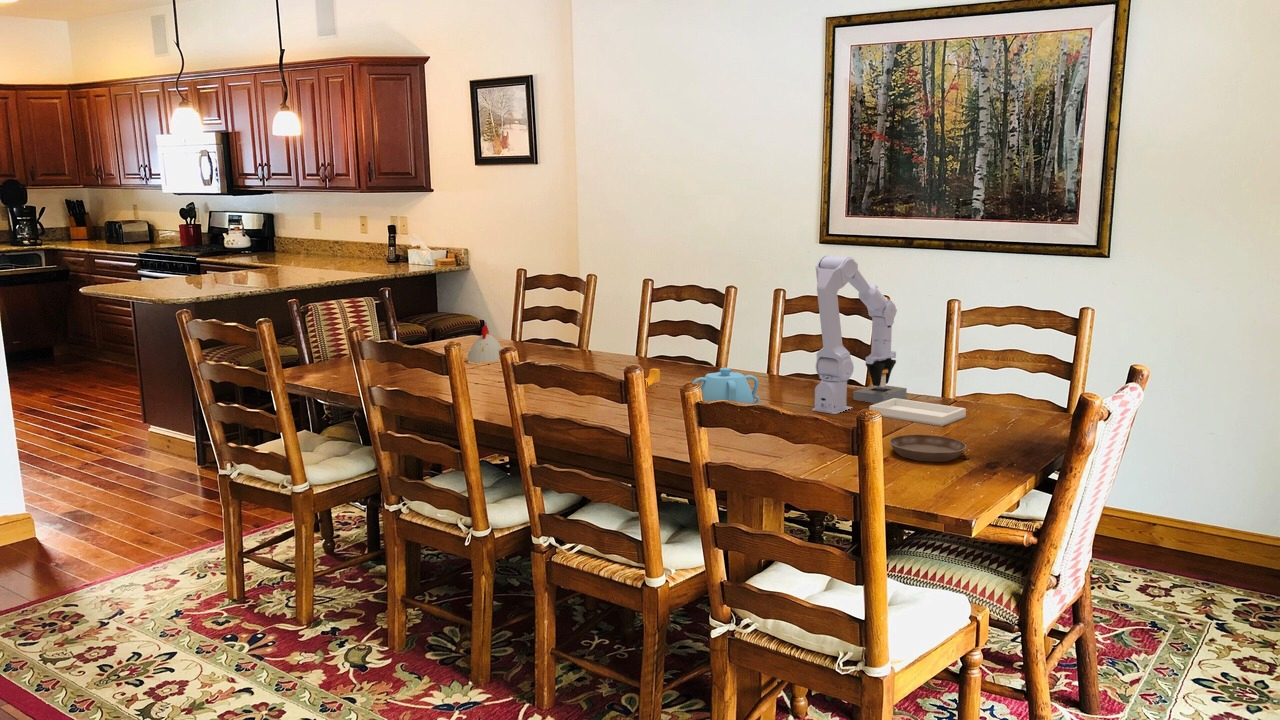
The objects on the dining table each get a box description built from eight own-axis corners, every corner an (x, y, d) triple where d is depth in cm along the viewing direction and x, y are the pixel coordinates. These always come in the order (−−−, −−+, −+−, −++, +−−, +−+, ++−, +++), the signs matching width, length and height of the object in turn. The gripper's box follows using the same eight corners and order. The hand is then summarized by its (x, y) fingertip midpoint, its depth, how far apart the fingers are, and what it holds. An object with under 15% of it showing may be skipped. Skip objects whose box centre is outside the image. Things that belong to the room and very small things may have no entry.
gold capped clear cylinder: (882, 400, 298) (883, 370, 296) (869, 398, 301) (870, 369, 299) (890, 397, 301) (890, 368, 299) (877, 396, 304) (877, 367, 302)
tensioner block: (882, 405, 292) (883, 395, 292) (853, 401, 299) (853, 391, 299) (906, 397, 303) (906, 388, 302) (876, 393, 309) (877, 384, 309)
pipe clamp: (648, 387, 325) (648, 367, 324) (659, 388, 323) (659, 369, 322) (627, 393, 316) (627, 373, 314) (638, 395, 313) (638, 374, 312)
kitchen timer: (464, 369, 362) (462, 328, 360) (472, 362, 376) (470, 323, 373) (502, 369, 361) (500, 328, 359) (508, 362, 375) (507, 323, 372)
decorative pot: (729, 424, 272) (730, 375, 270) (684, 416, 283) (684, 368, 280) (765, 414, 284) (765, 367, 281) (720, 406, 294) (720, 361, 292)
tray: (942, 426, 266) (942, 417, 266) (869, 414, 281) (869, 405, 281) (965, 417, 276) (965, 408, 276) (893, 406, 291) (894, 398, 291)
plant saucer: (936, 442, 250) (936, 431, 250) (981, 460, 234) (982, 447, 233) (875, 449, 245) (875, 437, 244) (916, 468, 228) (917, 455, 228)
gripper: (881, 343, 290) (879, 389, 292) (905, 338, 300) (904, 382, 303) (859, 341, 295) (858, 386, 297) (884, 336, 305) (883, 379, 307)
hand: (880, 384), depth 300 cm, fingers closed on gold capped clear cylinder, 4 cm apart
